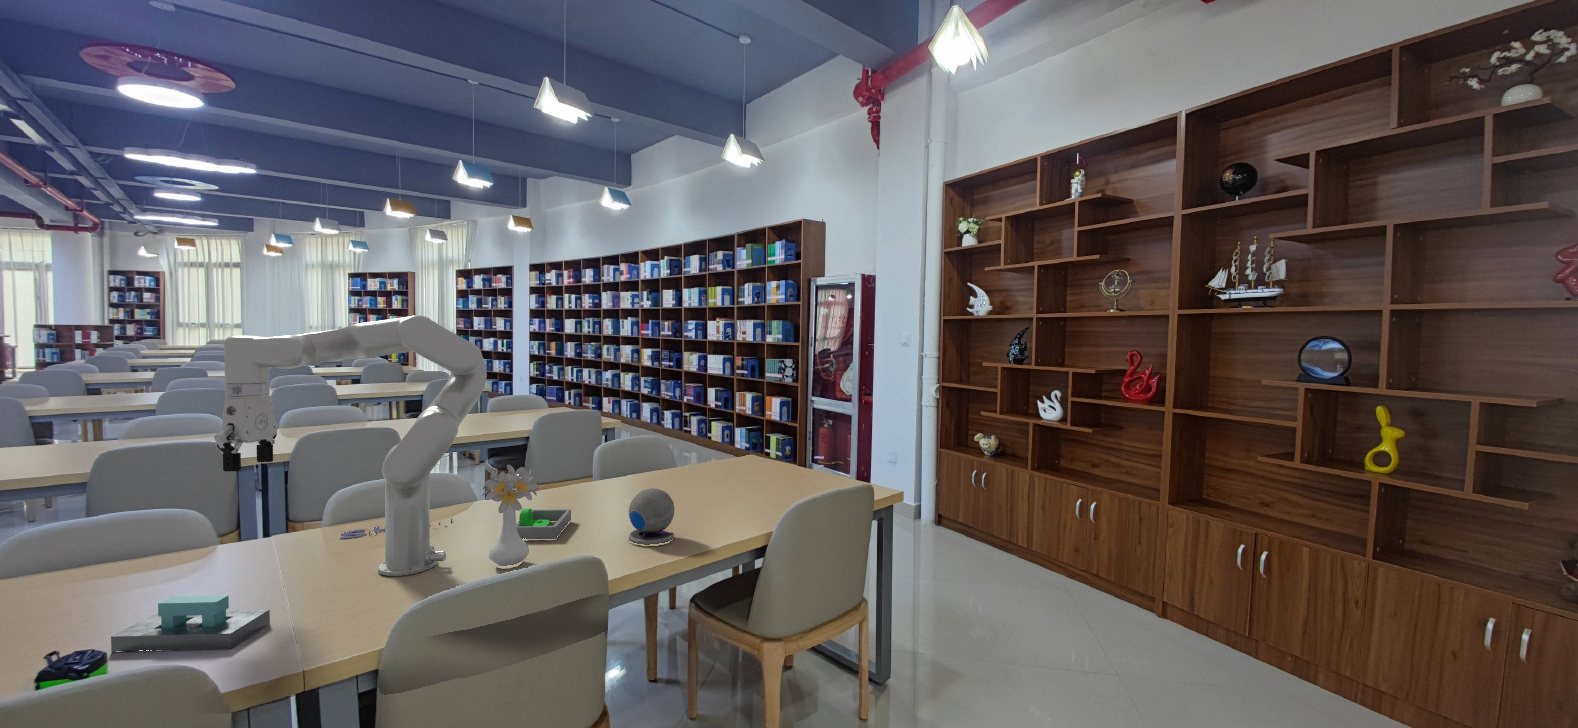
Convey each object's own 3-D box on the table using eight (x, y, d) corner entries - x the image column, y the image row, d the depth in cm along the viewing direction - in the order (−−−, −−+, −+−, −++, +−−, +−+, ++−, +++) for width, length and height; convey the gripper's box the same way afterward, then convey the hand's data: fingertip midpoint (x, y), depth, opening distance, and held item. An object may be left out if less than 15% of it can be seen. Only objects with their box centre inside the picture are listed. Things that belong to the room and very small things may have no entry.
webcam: (682, 538, 183) (683, 488, 182) (651, 550, 172) (651, 497, 172) (650, 530, 190) (651, 481, 189) (618, 541, 179) (619, 489, 178)
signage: (338, 539, 175) (342, 529, 183) (338, 541, 175) (342, 531, 183) (452, 525, 189) (451, 516, 198) (452, 527, 189) (451, 518, 198)
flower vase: (489, 583, 147) (489, 479, 146) (478, 559, 163) (477, 464, 162) (546, 572, 155) (546, 473, 154) (530, 550, 170) (531, 460, 169)
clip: (229, 632, 121) (228, 595, 121) (216, 640, 118) (216, 601, 118) (172, 634, 120) (172, 596, 120) (158, 642, 117) (157, 603, 117)
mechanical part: (540, 538, 181) (540, 511, 180) (519, 538, 180) (519, 511, 180) (552, 525, 193) (552, 500, 192) (532, 525, 192) (532, 500, 192)
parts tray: (571, 521, 196) (571, 509, 196) (555, 540, 178) (555, 526, 178) (531, 522, 195) (531, 509, 195) (512, 541, 177) (512, 527, 177)
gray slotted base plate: (269, 624, 125) (269, 609, 125) (230, 649, 115) (230, 633, 115) (160, 626, 123) (160, 611, 123) (111, 652, 113) (110, 636, 113)
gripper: (235, 394, 131) (237, 475, 132) (292, 387, 148) (293, 458, 149) (196, 394, 130) (198, 475, 131) (258, 387, 147) (259, 458, 148)
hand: (249, 466), depth 140 cm, fingers open, 9 cm apart
